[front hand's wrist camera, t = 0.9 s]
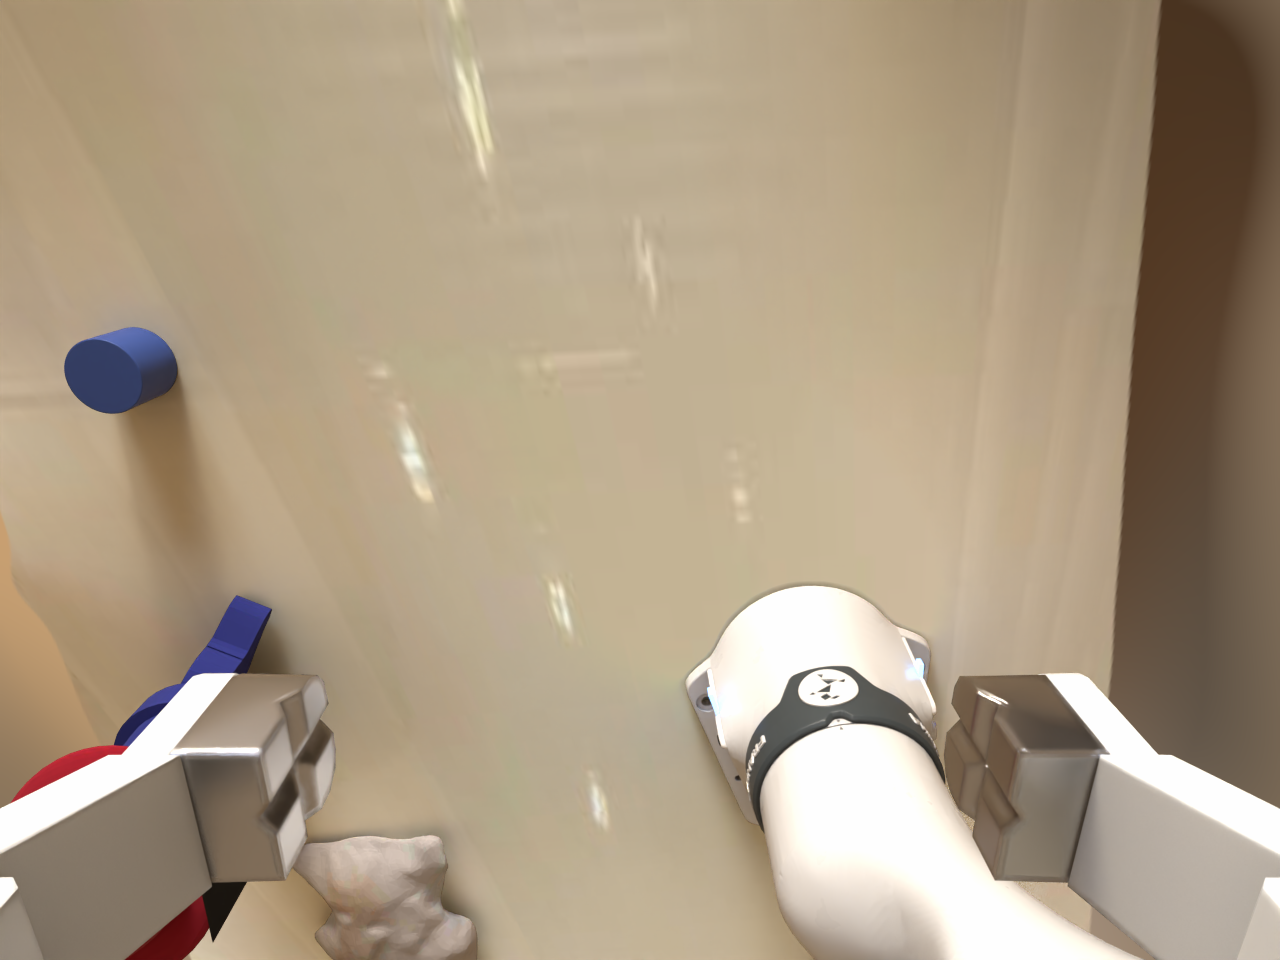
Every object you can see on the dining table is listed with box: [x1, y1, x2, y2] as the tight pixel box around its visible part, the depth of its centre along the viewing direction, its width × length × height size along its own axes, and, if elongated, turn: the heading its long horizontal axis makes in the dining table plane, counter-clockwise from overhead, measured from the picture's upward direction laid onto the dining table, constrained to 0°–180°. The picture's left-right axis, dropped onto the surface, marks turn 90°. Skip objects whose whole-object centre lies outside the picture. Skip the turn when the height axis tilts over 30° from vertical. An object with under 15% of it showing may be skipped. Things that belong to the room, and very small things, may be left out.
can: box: [64, 327, 177, 414], centre depth 52 cm, size 5×5×4 cm
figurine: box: [10, 596, 272, 960], centre depth 52 cm, size 18×13×25 cm
